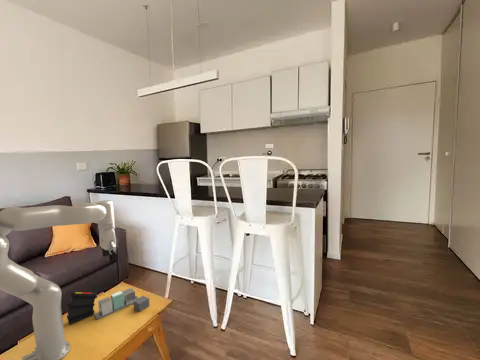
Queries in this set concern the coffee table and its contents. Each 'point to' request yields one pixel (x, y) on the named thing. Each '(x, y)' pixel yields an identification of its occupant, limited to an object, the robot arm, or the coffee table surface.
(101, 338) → the coffee table surface
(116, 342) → the coffee table surface
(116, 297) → the block
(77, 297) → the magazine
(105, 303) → the rail
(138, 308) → the gray brick
